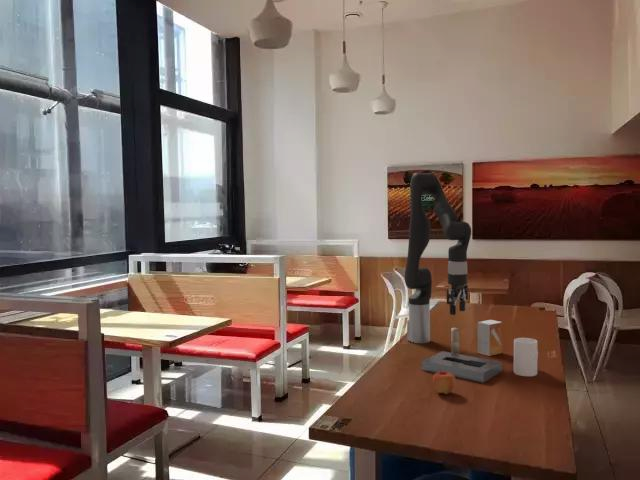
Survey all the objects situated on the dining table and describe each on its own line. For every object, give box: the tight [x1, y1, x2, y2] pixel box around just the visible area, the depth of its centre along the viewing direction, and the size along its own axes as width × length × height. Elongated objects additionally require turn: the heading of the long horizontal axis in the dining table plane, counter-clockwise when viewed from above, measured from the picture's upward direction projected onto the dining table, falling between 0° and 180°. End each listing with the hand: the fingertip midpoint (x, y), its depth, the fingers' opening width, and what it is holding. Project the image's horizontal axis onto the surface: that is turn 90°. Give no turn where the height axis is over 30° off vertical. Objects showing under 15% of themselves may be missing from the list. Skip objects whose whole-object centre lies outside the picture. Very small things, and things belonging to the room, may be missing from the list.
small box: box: [477, 319, 503, 357], centre depth 219 cm, size 8×6×13 cm
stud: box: [450, 327, 463, 355], centre depth 213 cm, size 5×5×12 cm
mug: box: [513, 337, 539, 377], centre depth 195 cm, size 8×12×12 cm
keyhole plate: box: [421, 350, 503, 384], centre depth 197 cm, size 24×16×4 cm, turn 49°
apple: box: [432, 368, 457, 395], centre depth 175 cm, size 7×7×8 cm
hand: (457, 312), depth 212 cm, fingers open, 8 cm apart
